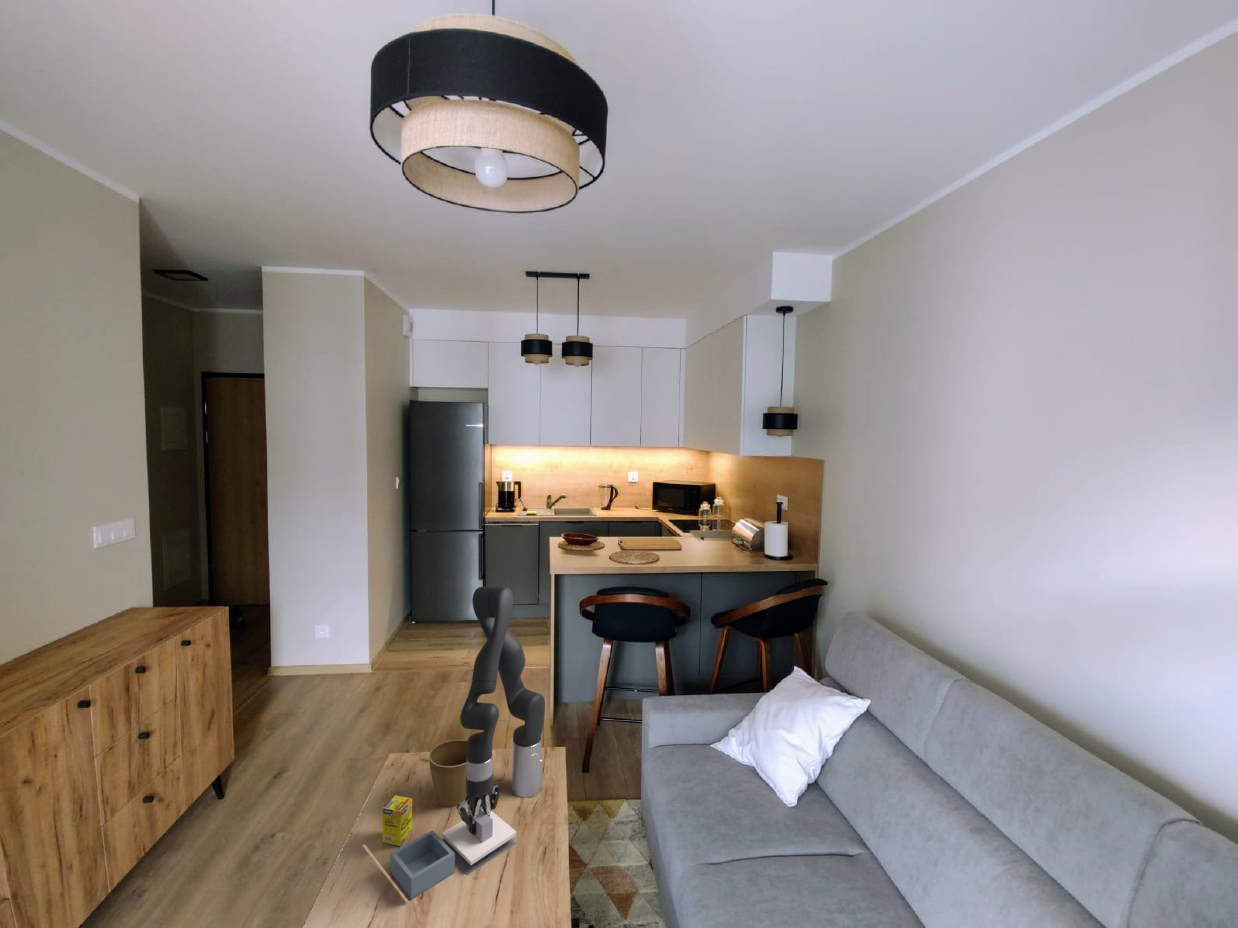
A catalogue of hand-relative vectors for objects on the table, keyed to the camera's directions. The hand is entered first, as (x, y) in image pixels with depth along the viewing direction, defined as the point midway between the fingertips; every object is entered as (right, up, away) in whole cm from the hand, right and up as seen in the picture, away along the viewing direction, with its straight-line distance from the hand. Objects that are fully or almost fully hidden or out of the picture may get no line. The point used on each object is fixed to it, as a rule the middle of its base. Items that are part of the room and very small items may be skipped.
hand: (479, 829), depth 156 cm
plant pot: (-13, -4, +19) cm, 23 cm away
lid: (0, -2, 0) cm, 2 cm away
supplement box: (-24, -4, +1) cm, 24 cm away
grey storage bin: (-12, -5, -11) cm, 17 cm away
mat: (-1, -5, 0) cm, 5 cm away
